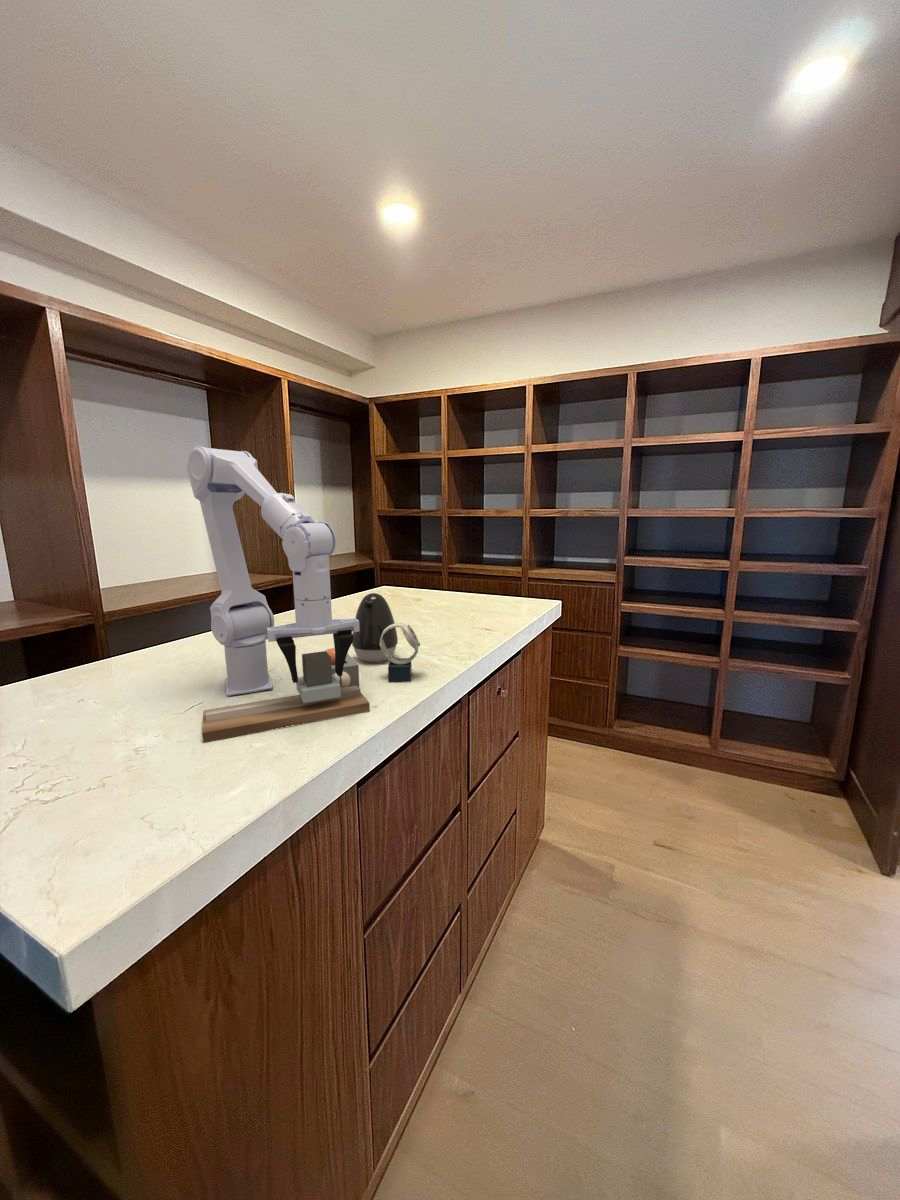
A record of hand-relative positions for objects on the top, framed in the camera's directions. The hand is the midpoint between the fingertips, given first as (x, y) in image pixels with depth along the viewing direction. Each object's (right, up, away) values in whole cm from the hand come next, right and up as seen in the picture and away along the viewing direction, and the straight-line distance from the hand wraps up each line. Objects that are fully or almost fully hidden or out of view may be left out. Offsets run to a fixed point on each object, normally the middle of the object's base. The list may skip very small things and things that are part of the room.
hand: (317, 677), depth 80 cm
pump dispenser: (+5, -1, +29) cm, 29 cm away
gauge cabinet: (0, -4, +12) cm, 12 cm away
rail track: (-5, -6, -1) cm, 8 cm away
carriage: (0, -3, 0) cm, 3 cm away
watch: (+12, -3, +17) cm, 21 cm away
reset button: (0, +1, +11) cm, 11 cm away
